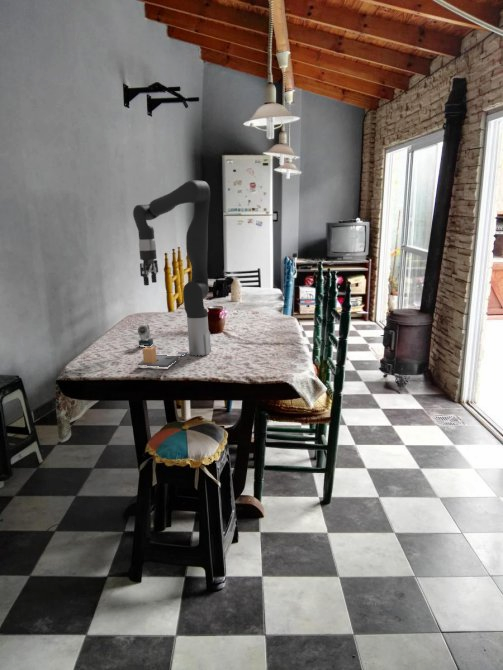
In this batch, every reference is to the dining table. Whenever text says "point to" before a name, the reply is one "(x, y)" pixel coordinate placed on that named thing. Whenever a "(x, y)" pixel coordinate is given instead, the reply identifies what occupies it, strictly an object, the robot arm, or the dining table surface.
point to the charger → (149, 354)
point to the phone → (182, 353)
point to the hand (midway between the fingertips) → (150, 283)
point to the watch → (144, 335)
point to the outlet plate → (162, 361)
